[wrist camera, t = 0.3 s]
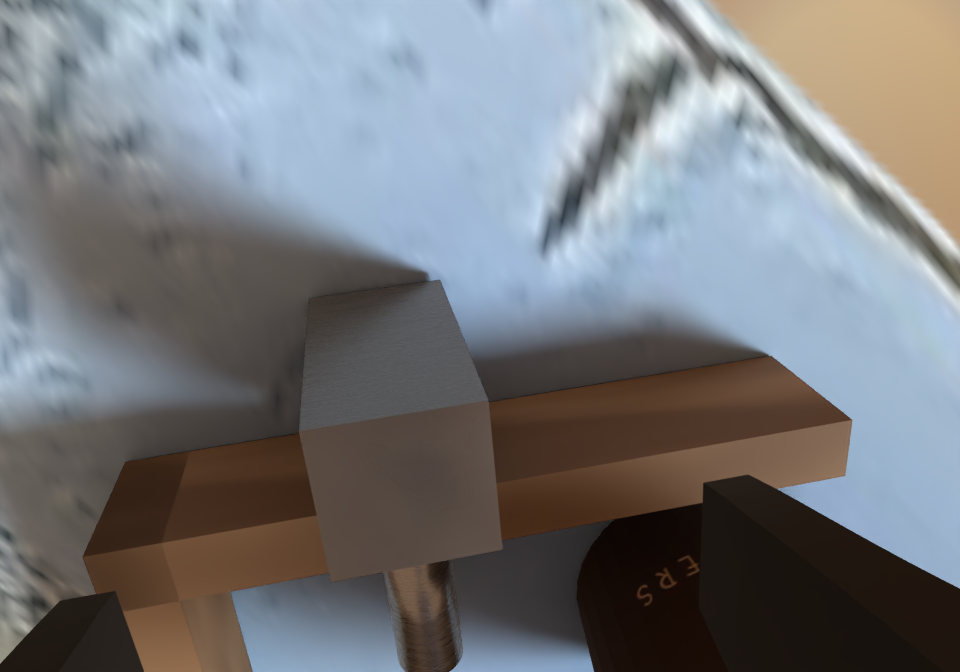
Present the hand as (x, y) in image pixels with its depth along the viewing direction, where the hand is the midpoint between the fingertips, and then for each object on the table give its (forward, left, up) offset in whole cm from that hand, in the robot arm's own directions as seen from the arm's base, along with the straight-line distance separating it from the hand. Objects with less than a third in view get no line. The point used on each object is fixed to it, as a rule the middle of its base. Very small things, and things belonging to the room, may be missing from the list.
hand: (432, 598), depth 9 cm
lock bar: (-4, 0, -9) cm, 10 cm away
